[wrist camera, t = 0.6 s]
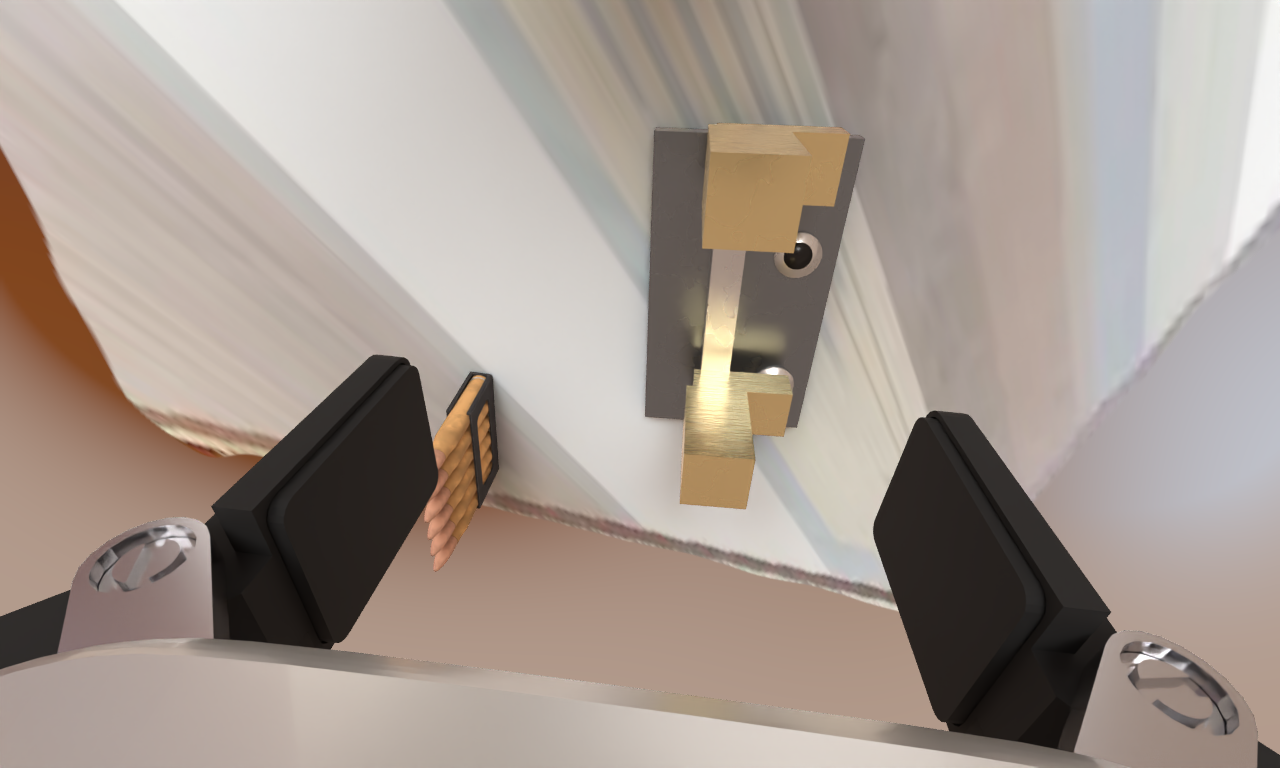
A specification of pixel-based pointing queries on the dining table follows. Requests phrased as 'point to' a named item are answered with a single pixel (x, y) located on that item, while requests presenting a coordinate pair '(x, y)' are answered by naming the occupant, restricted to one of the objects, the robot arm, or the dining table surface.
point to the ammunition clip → (462, 464)
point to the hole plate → (761, 289)
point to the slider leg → (766, 182)
